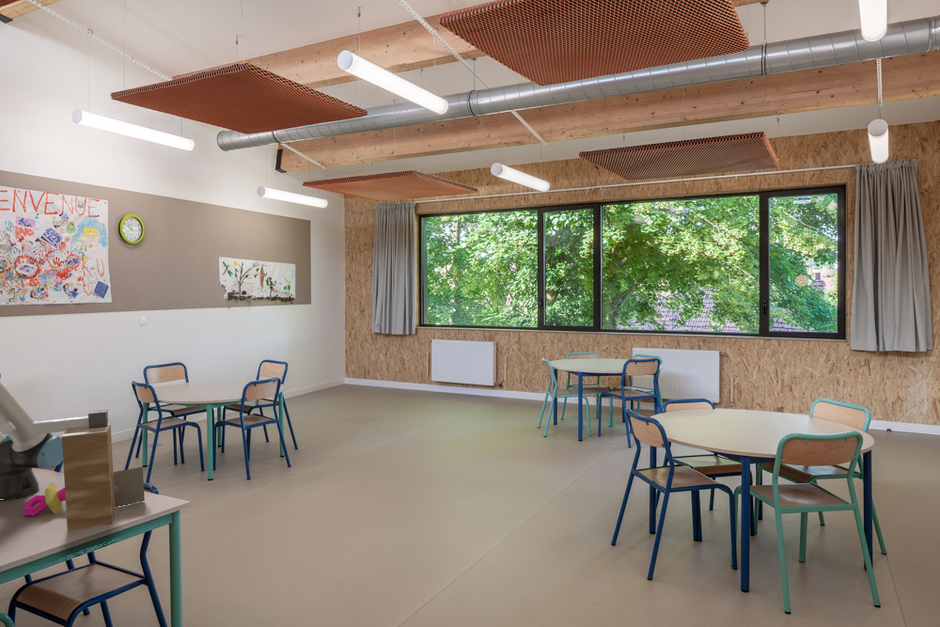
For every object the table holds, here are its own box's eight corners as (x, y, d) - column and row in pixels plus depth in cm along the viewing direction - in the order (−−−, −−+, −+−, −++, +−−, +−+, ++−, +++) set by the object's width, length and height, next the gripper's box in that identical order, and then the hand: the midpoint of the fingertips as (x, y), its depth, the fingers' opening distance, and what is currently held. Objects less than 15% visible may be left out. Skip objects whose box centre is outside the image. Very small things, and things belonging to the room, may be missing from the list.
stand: (73, 517, 196) (68, 427, 195) (115, 510, 202) (110, 423, 200) (67, 531, 185) (61, 436, 183) (112, 523, 190) (106, 431, 189)
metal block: (35, 432, 190) (34, 416, 190) (108, 424, 199) (107, 409, 199) (32, 435, 186) (31, 419, 185) (106, 426, 195) (106, 411, 195)
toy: (33, 510, 207) (17, 489, 201) (89, 488, 213) (76, 467, 207) (29, 530, 199) (13, 509, 193) (88, 507, 205) (74, 486, 199)
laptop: (139, 493, 219) (137, 459, 219) (145, 503, 209) (143, 466, 209) (81, 505, 208) (79, 469, 208) (84, 516, 198) (82, 477, 198)
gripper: (-44, 471, 190) (24, 430, 197) (-71, 496, 168) (6, 448, 175) (-61, 453, 187) (8, 412, 195) (-91, 476, 165) (-11, 429, 173)
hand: (7, 429), depth 185 cm, fingers open, 13 cm apart
